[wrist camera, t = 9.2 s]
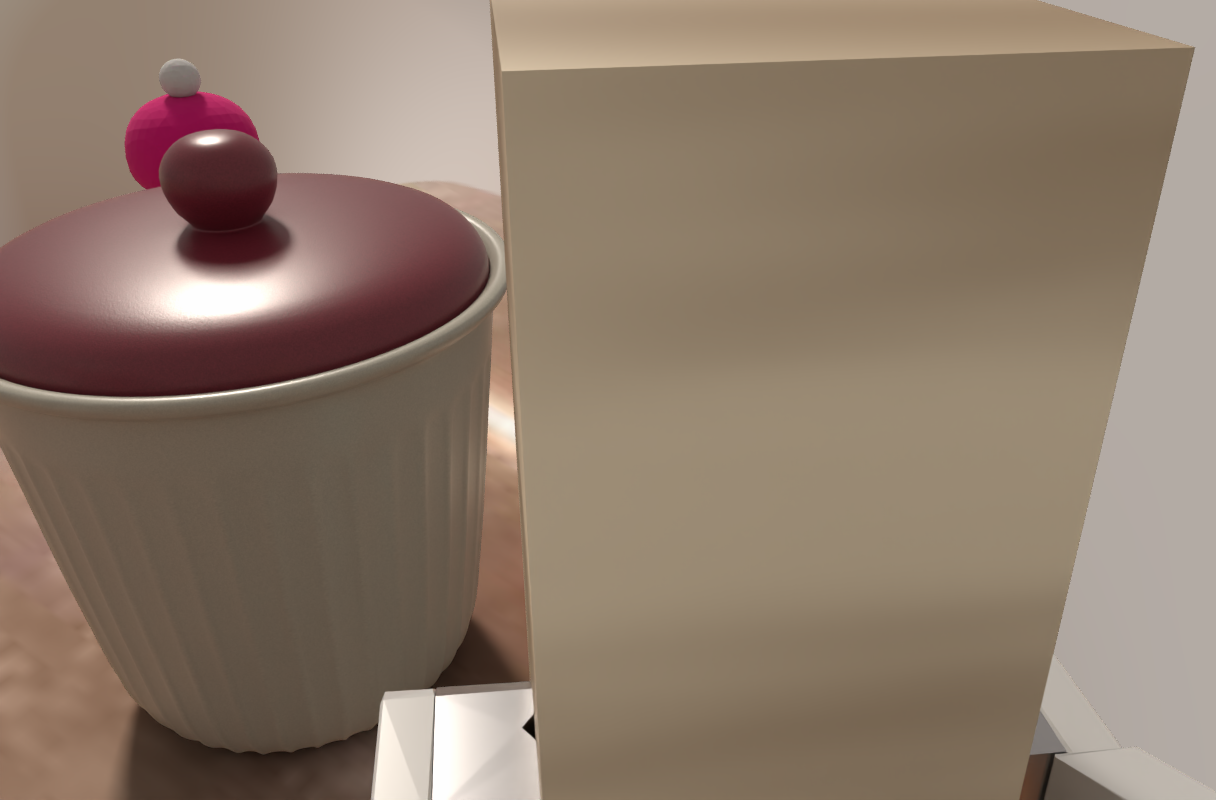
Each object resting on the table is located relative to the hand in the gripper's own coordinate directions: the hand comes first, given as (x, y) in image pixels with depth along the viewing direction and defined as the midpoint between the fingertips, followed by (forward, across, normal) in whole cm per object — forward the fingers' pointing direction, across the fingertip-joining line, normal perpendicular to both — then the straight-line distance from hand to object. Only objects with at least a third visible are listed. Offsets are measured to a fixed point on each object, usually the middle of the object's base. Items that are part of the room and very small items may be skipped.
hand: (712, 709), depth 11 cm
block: (-1, 0, -9) cm, 9 cm away
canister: (+27, -10, -22) cm, 36 cm away
